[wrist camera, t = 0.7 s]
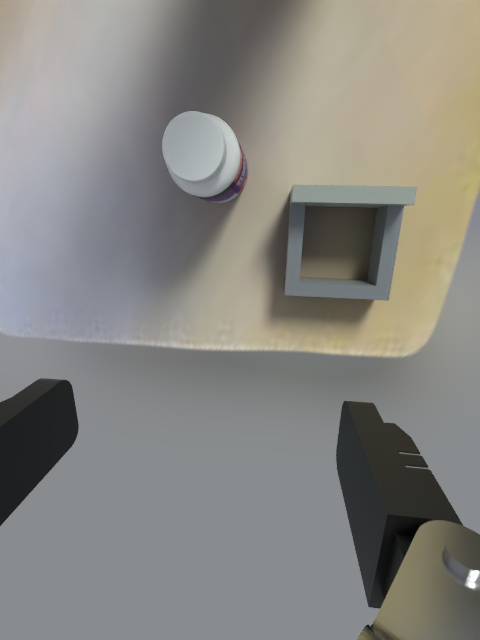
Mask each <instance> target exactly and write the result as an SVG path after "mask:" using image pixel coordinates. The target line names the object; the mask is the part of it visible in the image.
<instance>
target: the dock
mask: <svg viewBox="0 0 480 640" xmlns="http://www.w3.org/2000/svg"><path fill="white" fill-rule="evenodd" d="M416 190H417V187H392V186H334V185H293V187H292V189H291V193H290V208H289V223H288V238H287V252H286V267H285V282H284V294H285V295H290V296H310V297H330V298H349V299H369V300H389V295H390V288H391V282H392V276H393V270H394V264H395V258H396V251H397V245H398V239H399V233H400V227H401V221H402V215H403V208H404V206H407V205H414V202H415V196H416ZM306 206H328V207H371V208H377V212H376V220H375V227H374V234H373V241H372V248H371V255H370V262H369V269H368V277H367V280H347V279H325V278H302V277H300V269H301V257H302V244H303V232H304V220H305V207H306Z"/></svg>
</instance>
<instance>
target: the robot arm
mask: <svg viewBox="0 0 480 640" xmlns="http://www.w3.org/2000/svg"><path fill="white" fill-rule="evenodd" d="M77 434H78V419H77V413H76V407H75V401H74V395H73V389H72V385H71V384H70V382H69V381H67V380H56V379H39V380H37V381H35V382H34V383H32V384H31V385H30V386H28V387H26V388H25V389H24V390H22V391H21V392H19V393H18V394H16V395H15V396H13V397H12V398H9V399H7V400H5V401H2V402H0V526H1V524H2V523H3V522H4V521H5V520H6V519H7V518H8V517H9V516H10V514H11V513H12V512H13V511H14V510H15V509H16V508H17V507H18V506H19V505H20V503H21V502H22V501H23V500H24V499H25V498H26V497H27V496H28V494H29V493H30V492H31V491H32V490H33V489H34V488H35V487H36V486H37V484H38V483H39V482H40V481H41V480H42V479H43V478H44V477H45V475H46V474H47V473H48V472H49V471H50V470H51V469H52V468H53V467H54V465H55V464H56V463H57V462H58V461H59V460H60V459H61V458H62V456H63V455H64V454H65V453H66V452H67V451H68V450H69V449H70V448H71V446H72V445H73V444H74V442H75V440H76V437H77ZM336 457H337V459H336V460H337V470H338V475H339V479H340V484H341V488H342V493H343V497H344V502H345V506H346V510H347V514H348V519H349V523H350V528H351V532H352V536H353V541H354V545H355V550H356V554H357V558H358V562H359V566H360V571H361V575H362V579H363V584H364V589H365V593H366V597H367V602H368V606H369V607H373V608H380V610H379V613H378V615H377V617H376V619H375V621H374V622H373V624H372V625H371V627H370V626H369V625H366V626H365V628H364V629H363V630H362V632H361V634H360V635H359V637H358V639H357V640H480V534H478V533H476V532H475V531H473V530H471V529H469V528H466V527H465V526H463V524H462V523H461V521H460V519H459V518H458V516H457V514H456V513H455V511H454V509H453V507H452V506H451V504H450V503H449V501H448V499H447V497H446V496H445V494H444V492H443V491H442V489H441V487H440V486H439V484H438V482H437V481H436V479H435V477H434V475H433V474H432V472H431V471H430V470H428V465H427V464H426V462H425V460H424V459H423V457H422V456H420V452H419V450H418V449H417V447H416V445H415V443H414V442H413V440H412V438H411V437H410V436H409V435H407V434H406V433H405V432H404V431H403V430H402V429H400V428H399V427H398V426H397V425H396V424H394V423H383V420H382V418H381V416H380V415H379V413H378V411H377V409H376V407H375V405H374V404H373V403H367V402H352V401H344V403H343V405H342V411H341V419H340V426H339V434H338V443H337V453H336Z"/></svg>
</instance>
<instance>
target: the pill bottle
mask: <svg viewBox="0 0 480 640" xmlns="http://www.w3.org/2000/svg"><path fill="white" fill-rule="evenodd" d="M162 152H163V156H164V160H165V162H166V164H167V168H168V171H169V173H170V175H171V177H172V179H173V180H174V181H175V183H176V184H177V185H178V186H179V187H180V188H181V189H182V190H184V191H185V192H187V193H189V194H191V195H193V196H196V197H199V198H201V199H204V200H206V201H209V202H213V203H224V202H227V201H230V200H232V199H233V198H235V197H236V196H237V195H238V194H239V193H240V192H241V191H242V189H243V188H244V186H245V183H246V180H247V175H248V166H247V161H246V158H245V155H244V153H243V151H242V149H241V146H240V144H239V142H238V140H237V138H236V136H235V134H234V132H233V131H232V129H231V128H230V127H229V125H228V124H227V123H226V122H224V121H223V120H222V119H220V118H219V117H217V116H214V115H211V114H207V113H201V112H197V111H188V112H183V113H181V114H179V115H177V116H176V117H175V118H173V119H172V120H171V121H170V123H169V124H168V126H167V127H166V129H165V132H164V135H163V139H162Z"/></svg>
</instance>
